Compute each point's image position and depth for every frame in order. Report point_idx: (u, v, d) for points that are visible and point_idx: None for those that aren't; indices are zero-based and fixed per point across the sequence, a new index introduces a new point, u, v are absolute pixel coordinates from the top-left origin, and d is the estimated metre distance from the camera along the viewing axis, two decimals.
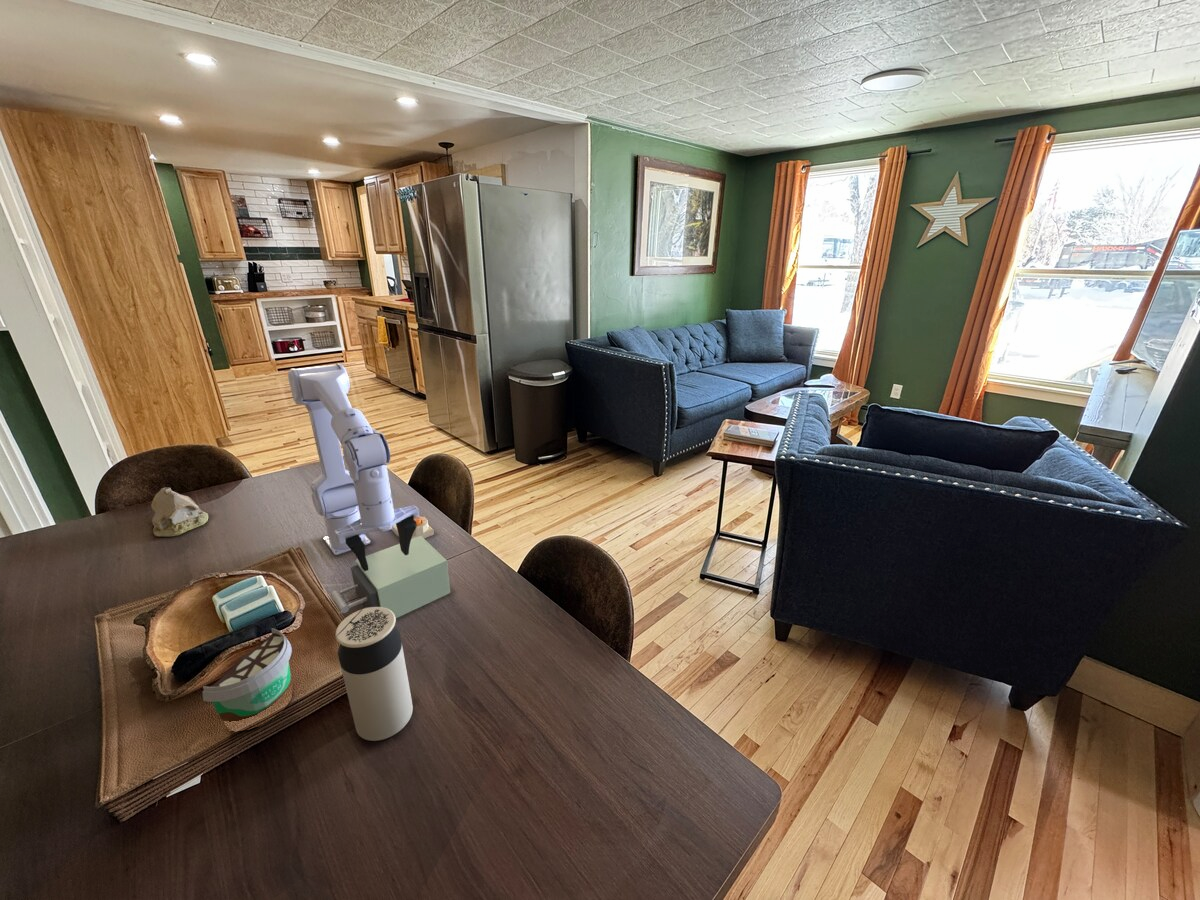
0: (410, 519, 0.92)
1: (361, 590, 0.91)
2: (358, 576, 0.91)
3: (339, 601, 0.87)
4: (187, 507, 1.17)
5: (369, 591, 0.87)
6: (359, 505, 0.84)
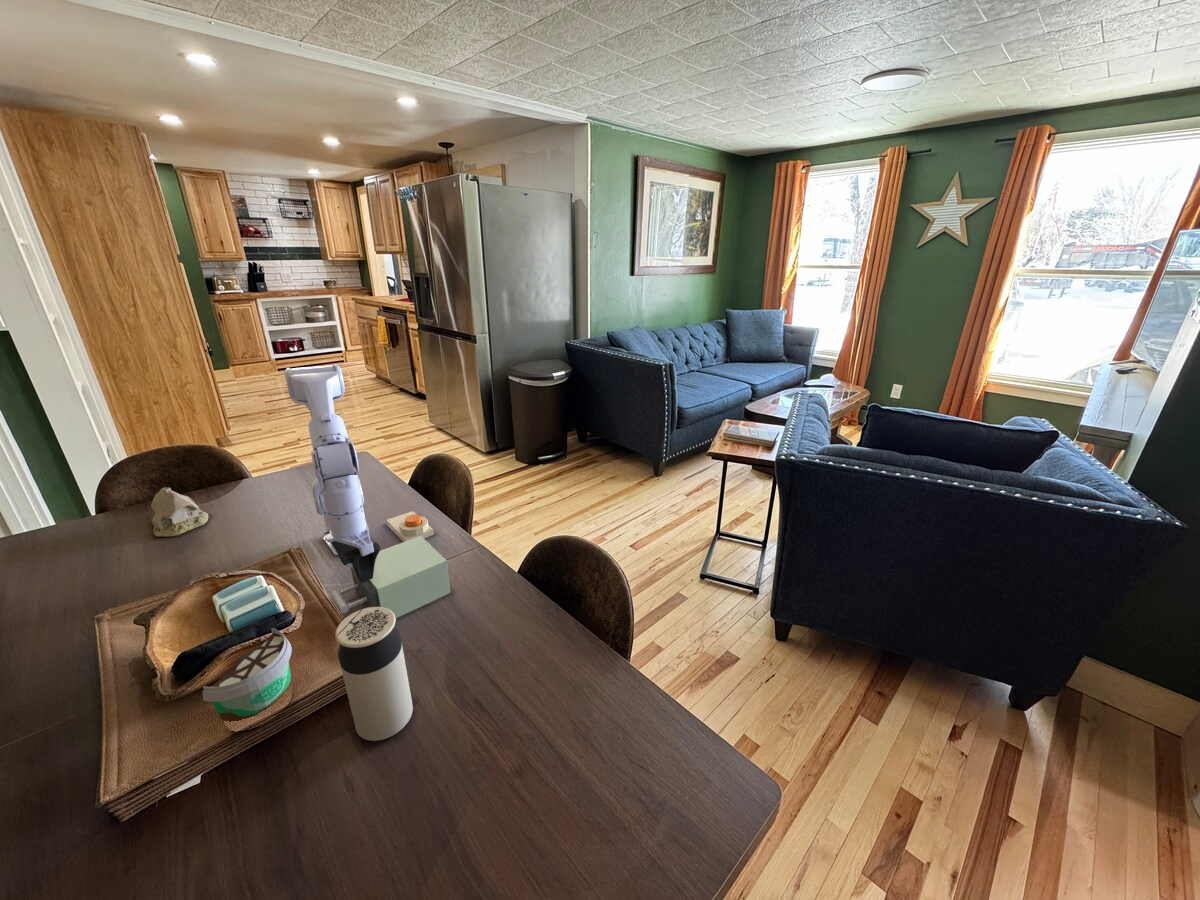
0: (359, 551, 0.82)
1: (361, 590, 0.91)
2: None
3: (339, 601, 0.87)
4: (187, 507, 1.17)
5: (369, 591, 0.87)
6: None
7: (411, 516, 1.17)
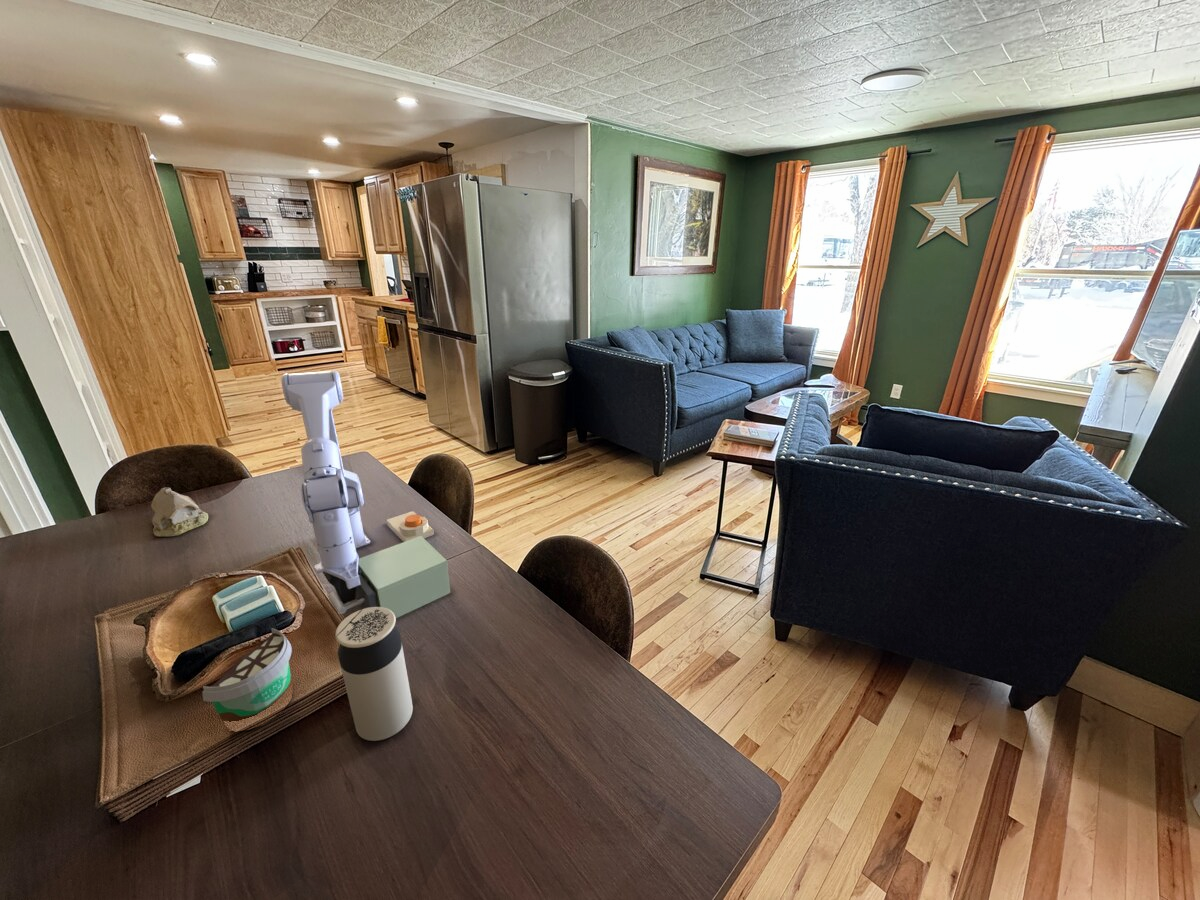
0: None
1: (359, 591, 0.91)
2: None
3: (337, 602, 0.87)
4: (187, 507, 1.17)
5: (367, 592, 0.87)
6: None
7: (411, 516, 1.17)
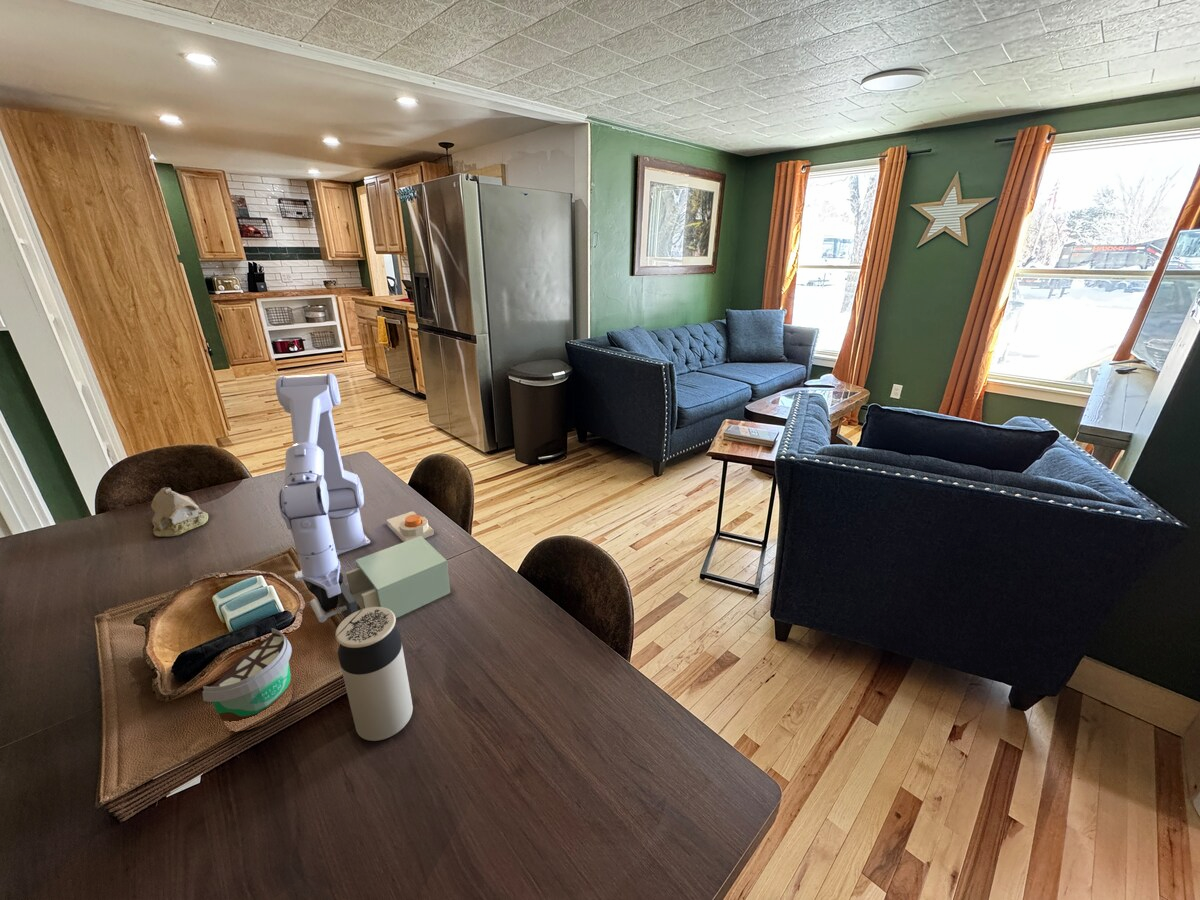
0: None
1: (341, 598, 0.89)
2: None
3: (317, 610, 0.85)
4: (187, 507, 1.17)
5: (348, 600, 0.85)
6: None
7: (411, 516, 1.17)
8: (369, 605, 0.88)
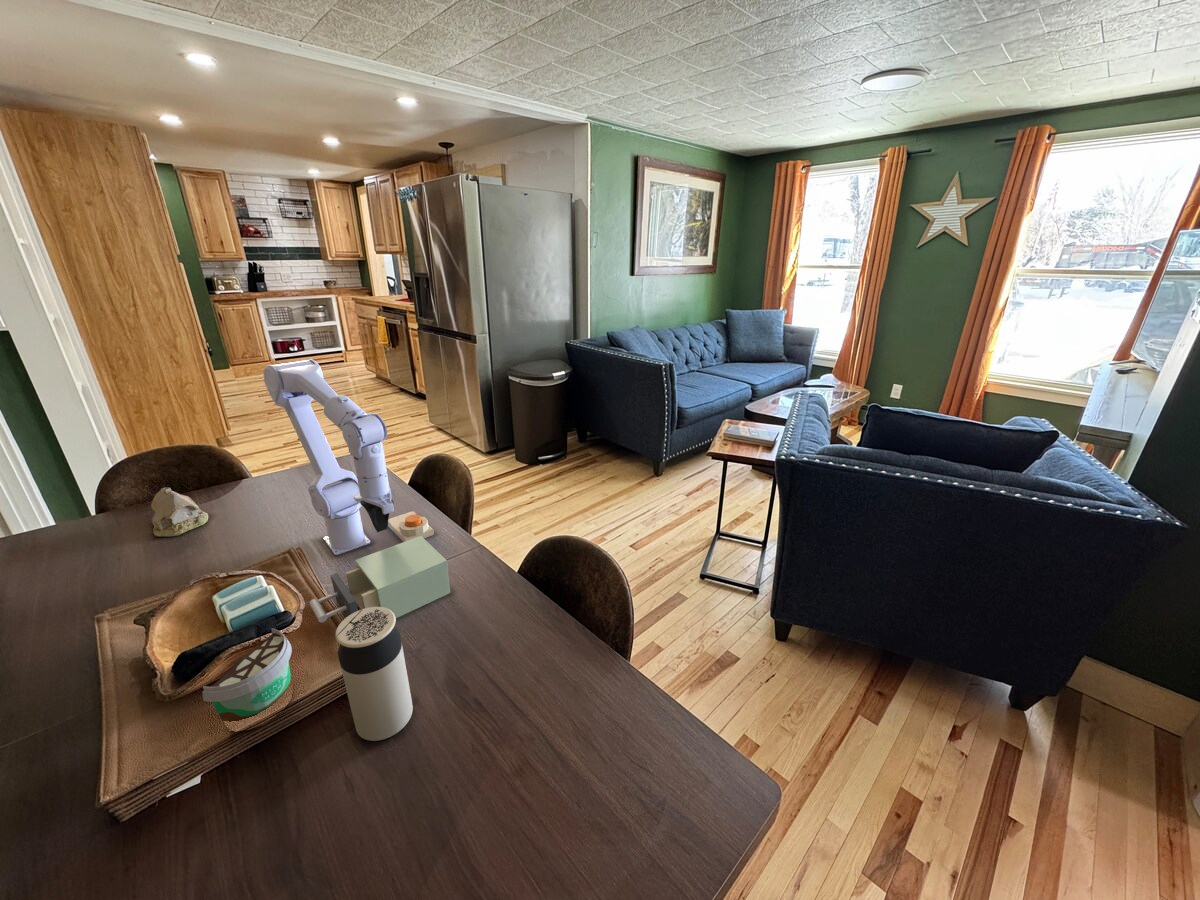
0: None
1: (340, 598, 0.89)
2: (337, 584, 0.89)
3: (317, 611, 0.85)
4: (187, 507, 1.17)
5: (348, 600, 0.85)
6: None
7: (411, 516, 1.17)
8: (369, 605, 0.88)
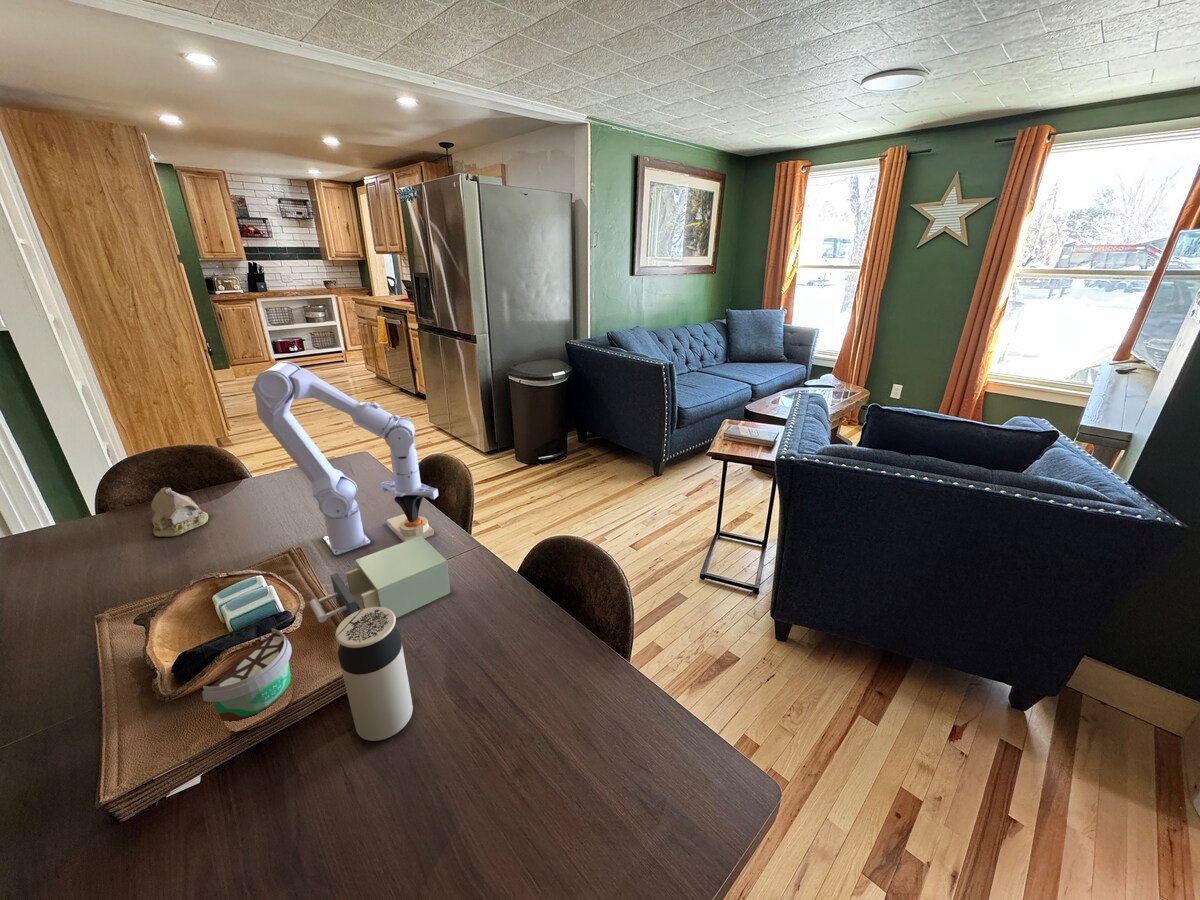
0: (414, 496, 1.12)
1: (340, 598, 0.89)
2: (337, 584, 0.89)
3: (317, 611, 0.85)
4: (187, 507, 1.17)
5: (348, 600, 0.85)
6: None
7: None
8: (369, 605, 0.88)
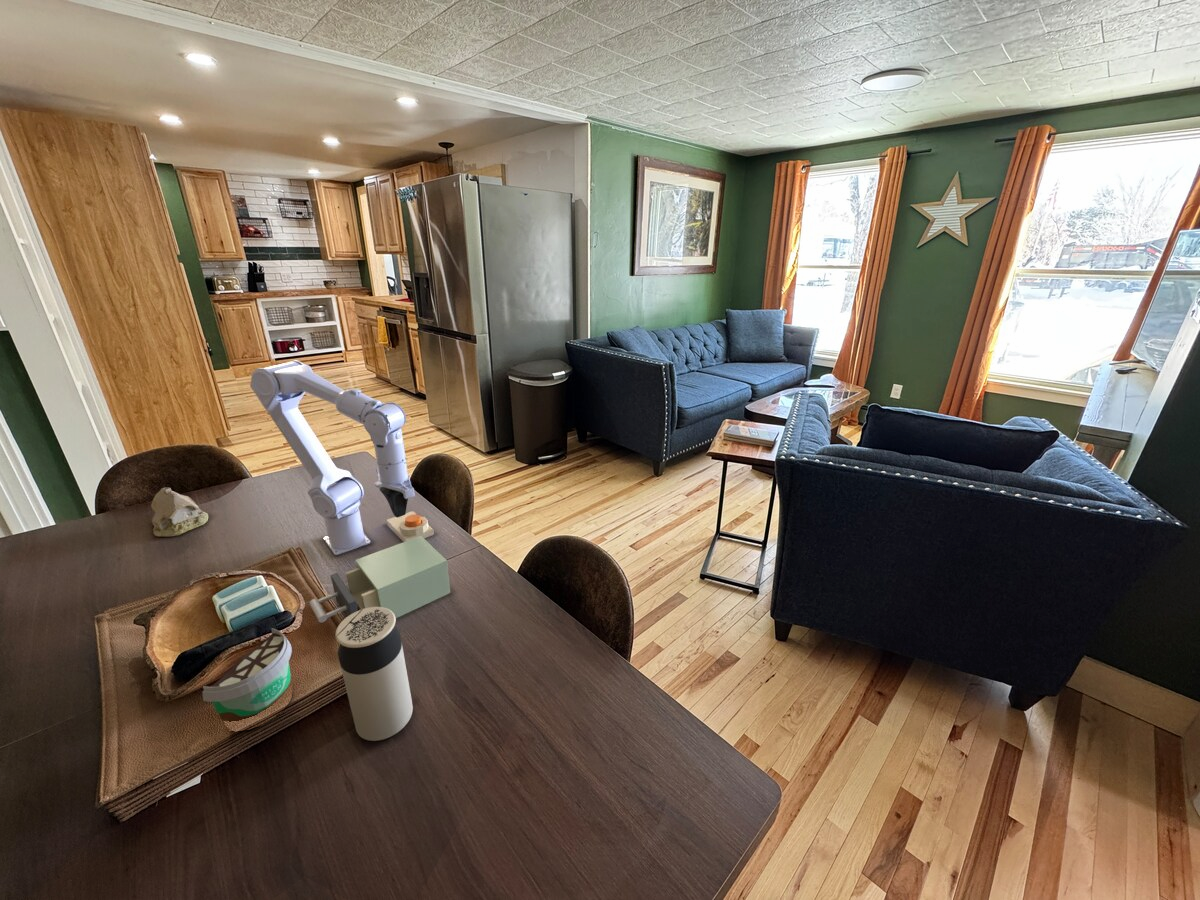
0: (395, 490, 1.02)
1: (340, 598, 0.89)
2: (337, 584, 0.89)
3: (317, 611, 0.85)
4: (187, 507, 1.17)
5: (348, 600, 0.85)
6: None
7: (411, 516, 1.17)
8: (369, 605, 0.88)
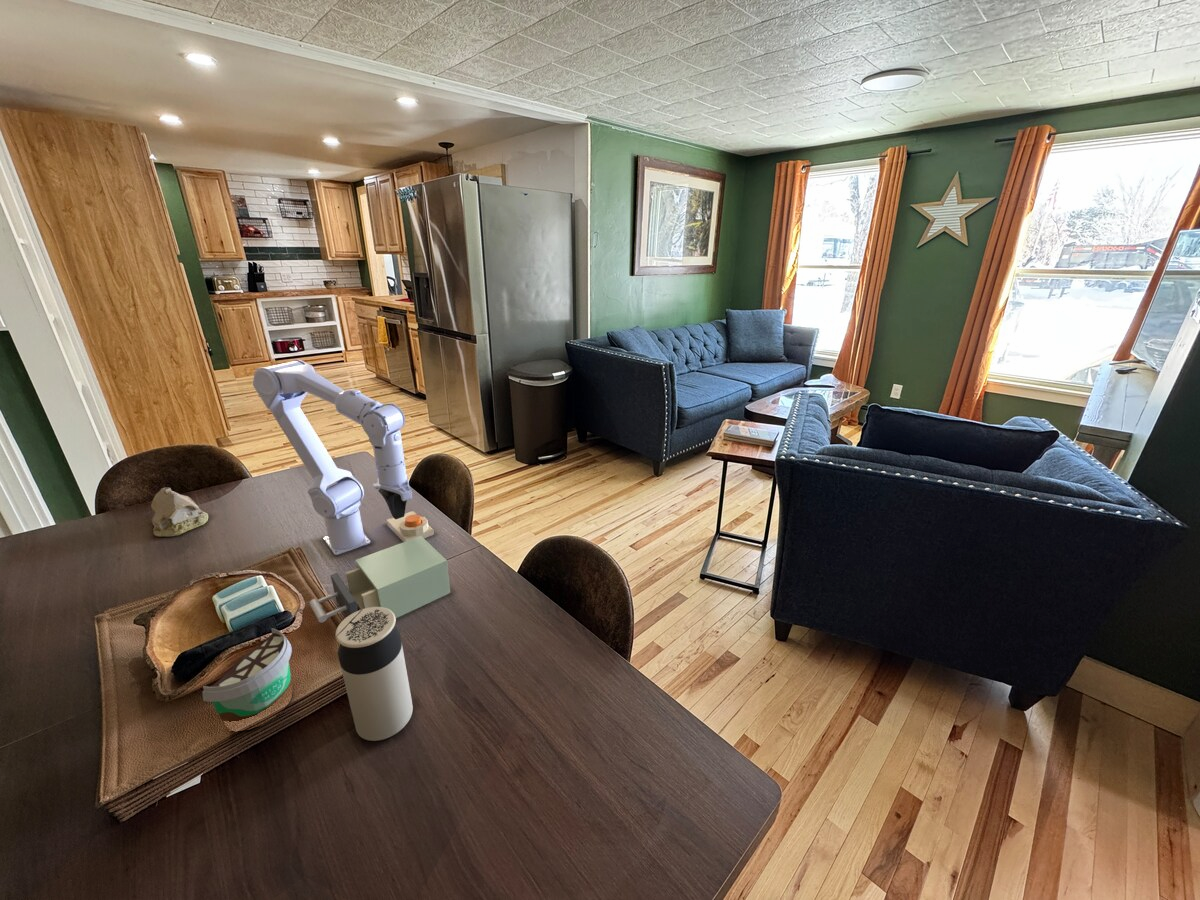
0: (393, 491, 1.01)
1: (340, 598, 0.89)
2: (337, 584, 0.89)
3: (317, 611, 0.85)
4: (187, 507, 1.17)
5: (348, 600, 0.85)
6: None
7: (411, 516, 1.17)
8: (369, 605, 0.88)
